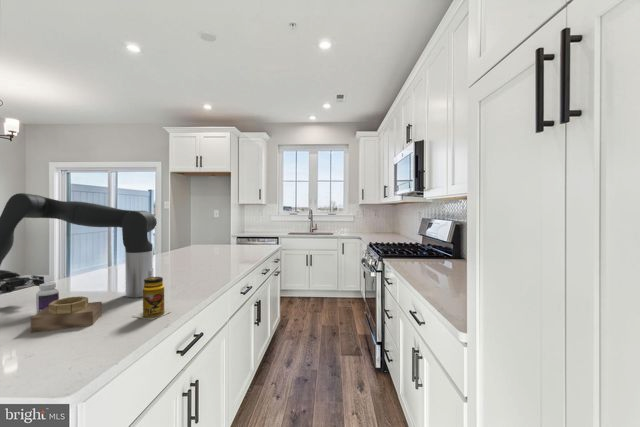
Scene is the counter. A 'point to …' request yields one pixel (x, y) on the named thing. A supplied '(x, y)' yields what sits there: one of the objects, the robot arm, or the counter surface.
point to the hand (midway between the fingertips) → (26, 286)
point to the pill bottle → (46, 295)
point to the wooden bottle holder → (66, 314)
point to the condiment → (153, 299)
